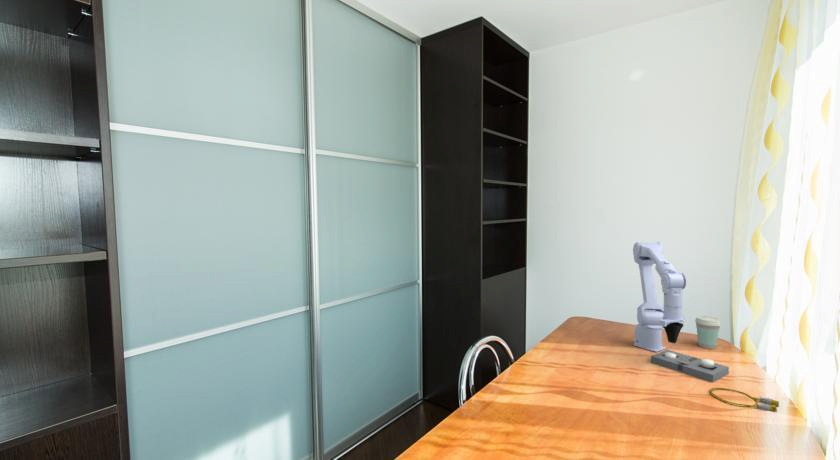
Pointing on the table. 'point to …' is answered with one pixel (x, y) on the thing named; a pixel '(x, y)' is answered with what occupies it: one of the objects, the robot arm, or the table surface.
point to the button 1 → (670, 355)
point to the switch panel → (690, 366)
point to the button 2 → (707, 363)
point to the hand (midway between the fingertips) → (672, 342)
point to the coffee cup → (707, 331)
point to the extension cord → (759, 406)
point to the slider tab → (684, 359)
